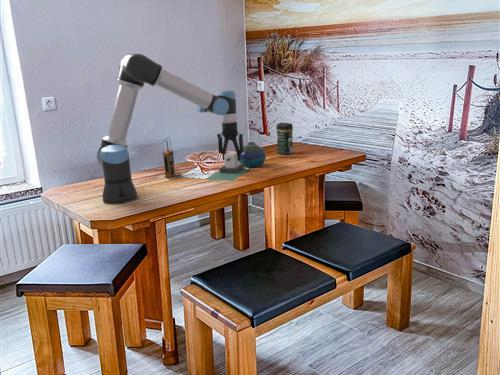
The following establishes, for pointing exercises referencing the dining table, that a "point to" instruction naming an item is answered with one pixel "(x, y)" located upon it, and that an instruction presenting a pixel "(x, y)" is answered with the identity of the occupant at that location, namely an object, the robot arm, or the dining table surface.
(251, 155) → the vase
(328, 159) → the dining table surface
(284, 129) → the coffee jar
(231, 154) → the plug
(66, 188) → the dining table surface
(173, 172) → the multimeter
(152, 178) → the dining table surface
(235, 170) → the board
